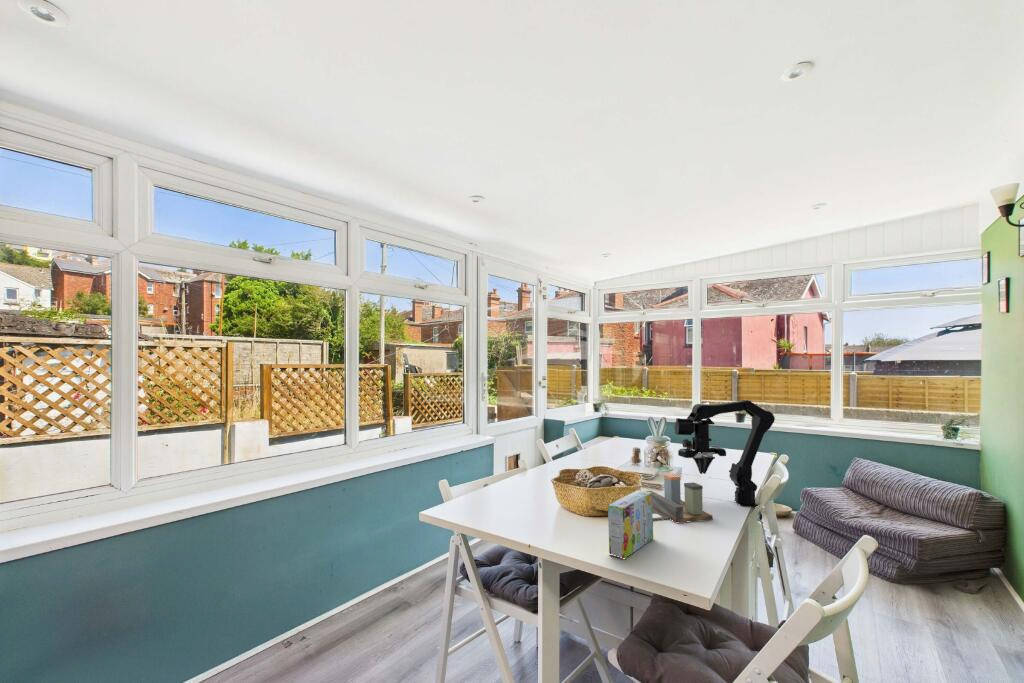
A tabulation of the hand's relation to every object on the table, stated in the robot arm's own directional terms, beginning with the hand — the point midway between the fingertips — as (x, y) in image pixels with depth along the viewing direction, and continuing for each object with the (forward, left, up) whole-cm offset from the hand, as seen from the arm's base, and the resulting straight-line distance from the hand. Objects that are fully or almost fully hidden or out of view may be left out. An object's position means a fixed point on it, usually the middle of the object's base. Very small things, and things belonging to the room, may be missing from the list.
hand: (702, 473), depth 189 cm
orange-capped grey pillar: (+14, +4, -10) cm, 17 cm away
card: (+25, +14, -12) cm, 31 cm away
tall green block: (+10, +17, -10) cm, 22 cm away
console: (+14, +11, -12) cm, 22 cm away
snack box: (+39, +46, -12) cm, 62 cm away
